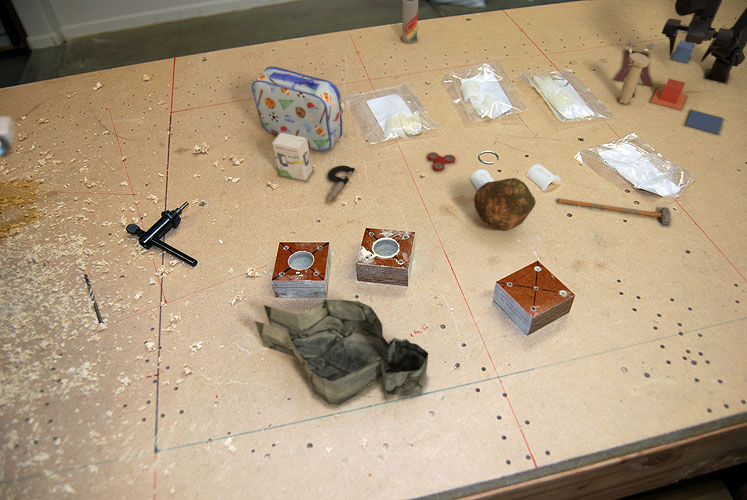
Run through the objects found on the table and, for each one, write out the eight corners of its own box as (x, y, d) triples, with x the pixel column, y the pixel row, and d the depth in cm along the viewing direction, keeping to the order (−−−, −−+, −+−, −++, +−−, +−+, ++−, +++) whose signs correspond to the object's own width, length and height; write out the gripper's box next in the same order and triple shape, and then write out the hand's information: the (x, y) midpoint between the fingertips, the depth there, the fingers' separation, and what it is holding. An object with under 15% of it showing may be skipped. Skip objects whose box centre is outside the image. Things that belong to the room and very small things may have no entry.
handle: (623, 95, 172) (639, 51, 161) (636, 105, 168) (653, 61, 157) (611, 98, 171) (626, 54, 160) (623, 108, 167) (640, 64, 156)
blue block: (674, 53, 189) (680, 40, 185) (689, 56, 187) (695, 43, 183) (671, 59, 186) (677, 46, 182) (686, 63, 184) (692, 49, 180)
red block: (662, 92, 172) (668, 78, 168) (678, 96, 170) (685, 82, 166) (659, 99, 169) (665, 85, 165) (675, 103, 167) (682, 89, 163)
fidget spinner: (426, 156, 154) (426, 152, 153) (449, 151, 155) (450, 147, 154) (434, 172, 149) (435, 169, 148) (459, 168, 150) (459, 164, 149)
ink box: (313, 170, 151) (308, 137, 142) (305, 182, 147) (299, 148, 139) (286, 165, 153) (279, 131, 144) (278, 176, 150) (271, 142, 141)
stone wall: (434, 348, 111) (437, 322, 103) (409, 430, 99) (411, 407, 92) (285, 307, 119) (278, 279, 112) (246, 377, 107) (235, 352, 100)
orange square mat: (657, 88, 174) (657, 87, 173) (686, 96, 170) (686, 95, 170) (650, 102, 169) (651, 100, 169) (680, 109, 165) (680, 108, 165)
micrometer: (335, 165, 152) (335, 158, 150) (357, 171, 150) (357, 164, 148) (309, 197, 143) (308, 190, 141) (332, 204, 141) (331, 197, 139)
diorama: (654, 49, 191) (659, 36, 188) (650, 99, 170) (656, 86, 166) (619, 44, 194) (623, 32, 191) (611, 93, 173) (616, 80, 169)
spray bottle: (417, 43, 199) (419, -12, 184) (402, 43, 199) (402, -11, 185) (416, 35, 203) (418, -18, 188) (401, 36, 203) (402, -18, 188)
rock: (465, 216, 137) (472, 172, 125) (507, 201, 140) (517, 157, 129) (492, 249, 129) (502, 205, 118) (535, 233, 132) (548, 188, 121)
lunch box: (352, 139, 160) (347, 74, 144) (336, 159, 154) (329, 93, 137) (276, 119, 168) (263, 55, 152) (258, 137, 162) (243, 72, 146)
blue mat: (691, 110, 165) (691, 109, 165) (722, 119, 162) (722, 118, 161) (685, 125, 160) (685, 124, 160) (717, 134, 157) (718, 133, 156)
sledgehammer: (558, 196, 141) (557, 209, 138) (559, 191, 140) (559, 204, 137) (667, 212, 135) (669, 225, 132) (670, 207, 134) (672, 220, 131)
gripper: (668, 13, 153) (649, 63, 165) (738, 26, 146) (714, 77, 158) (675, -2, 159) (656, 47, 171) (743, 10, 152) (719, 60, 164)
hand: (685, 58), depth 166 cm, fingers open, 9 cm apart
